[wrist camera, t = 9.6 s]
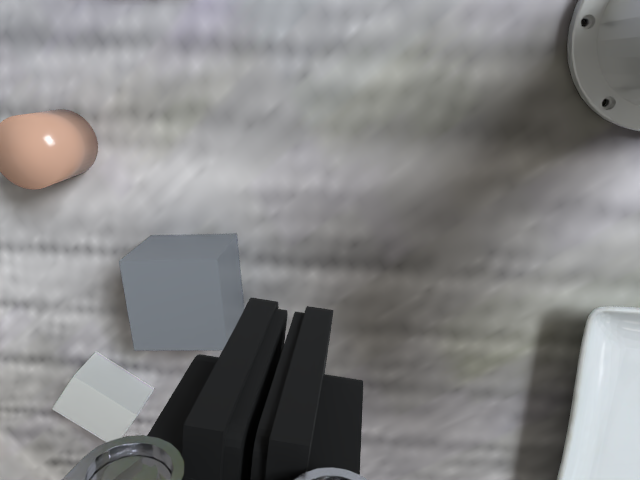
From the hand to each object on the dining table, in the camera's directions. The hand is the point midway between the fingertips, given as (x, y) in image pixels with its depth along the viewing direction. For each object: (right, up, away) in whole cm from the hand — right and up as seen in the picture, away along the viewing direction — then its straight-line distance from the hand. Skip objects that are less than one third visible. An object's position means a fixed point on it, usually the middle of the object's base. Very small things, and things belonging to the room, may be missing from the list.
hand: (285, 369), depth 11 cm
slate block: (-9, 0, +33) cm, 34 cm away
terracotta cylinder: (-19, +10, +30) cm, 37 cm away
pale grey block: (-17, -10, +37) cm, 42 cm away
